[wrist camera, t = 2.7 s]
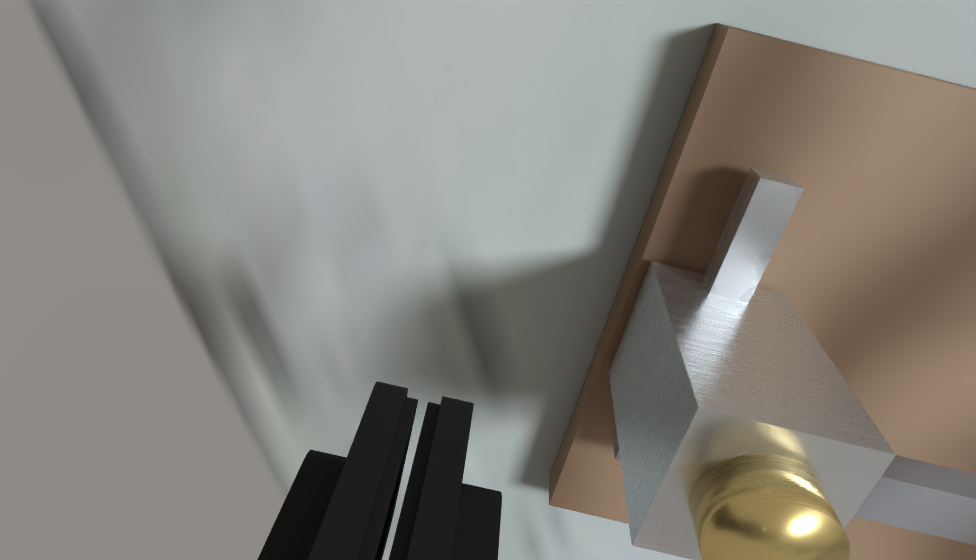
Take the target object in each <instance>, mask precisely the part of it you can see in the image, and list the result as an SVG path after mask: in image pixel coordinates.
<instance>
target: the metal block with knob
mask: <svg viewBox="0 0 976 560" xmlns="http://www.w3.org/2000/svg"><path fill="white" fill-rule="evenodd" d="M803 190H804V188H803V187H802V186H801V185H800V184H799V183H798V182H797V181H796V180H794V179H793V178H792V177H789V176H785V175H781V174H777V173H773V172H769V171H765V170H761V169H757V168H753V167H750V170H749V172H748V174H747V177H746V179H745V181H744V184H743V186H742V188H741V190H740V193H739V195H738V197H737V200H736V202H735V204H734V207H733V209H732V211H731V214H730V216H729V218H728V220H727V223H726V225H725V227H724V230H723V232H722V234H721V237H720V239H719V241H718V244H717V246H716V248H715V250H714V253H713V255H712V257H711V260H710V262H709V264H708V267H707V269H706V271H705V274H702V273H698V272H694V271H690V270H686V269H682V268H678V267H674V266H670V265H666V264H662V263H658V262H653V261H651V264H650V266H649V269H648V271H647V274H646V277H645V279H644V282H643V284H642V287H641V289H640V292H639V295H638V297H637V300H636V302H635V305H634V308H633V310H632V313H631V315H630V318H629V321H628V323H627V326H626V328H625V331H624V334H623V336H622V339H621V341H620V344H619V347H618V349H617V352H616V354H615V357H614V360H613V362H612V365H611V367H610V370H609V377H610V385H611V392H612V400H613V407H614V415H615V422H616V430H617V437H618V445H619V452H620V460H621V467H622V475H623V482H624V490H625V497H626V505H627V512H628V520H629V527H630V535H631V542H632V545H633V546H637V547H641V548H645V549H650V550H654V551H658V552H662V553H667V554H671V555H675V556H679V557H684V558H688V559H692V560H849V556H850V544H849V540H848V537H847V535H846V533H845V531H844V529H845V527H846V526H847V525H848V523H849V522H850V520H851V519H852V517H853V516H854V515H855V513H856V512H857V510H858V509H859V507H860V506H861V505H862V503H863V502H864V500H865V499H866V497H867V496H868V495H869V493H870V492H871V490H872V489H873V487H874V486H875V485H876V483H877V482H878V480H879V479H880V477H881V476H882V475H883V473H884V472H885V470H886V469H887V467H888V466H889V465H890V463H891V462H892V460H893V459H894V457H895V456H896V454H895V452H894V451H893V449H892V448H891V446H890V445H889V444H888V442H887V441H886V439H885V438H884V436H883V435H882V433H881V432H880V430H879V429H878V428H877V426H876V425H875V423H874V422H873V420H872V419H871V417H870V416H869V414H868V413H867V412H866V410H865V409H864V407H863V406H862V404H861V403H860V401H859V400H858V398H857V397H856V396H855V394H854V393H853V391H852V390H851V388H850V387H849V385H848V384H847V382H846V381H845V379H844V378H843V377H842V375H841V374H840V372H839V371H838V369H837V368H836V366H835V365H834V363H833V362H832V361H831V359H830V358H829V356H828V355H827V353H826V352H825V350H824V349H823V347H822V346H821V345H820V343H819V342H818V340H817V339H816V337H815V336H814V334H813V333H812V331H811V330H810V329H809V327H808V326H807V324H806V323H805V321H804V320H803V318H802V317H801V315H800V314H799V313H798V311H797V310H796V308H795V307H794V305H793V304H792V302H791V301H790V299H789V298H788V297H787V295H786V294H784V293H780V292H776V291H772V290H768V289H764V288H760V287H757V285H758V283H759V281H760V279H761V277H762V275H763V272H764V270H765V268H766V266H767V264H768V262H769V260H770V258H771V256H772V254H773V252H774V250H775V248H776V246H777V243H778V241H779V239H780V237H781V235H782V233H783V231H784V229H785V227H786V225H787V223H788V221H789V219H790V216H791V214H792V212H793V210H794V208H795V206H796V204H797V202H798V200H799V198H800V196H801V194H802V192H803Z"/></svg>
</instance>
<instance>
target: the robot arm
mask: <svg viewBox="0 0 976 560" xmlns="http://www.w3.org/2000/svg"><path fill="white" fill-rule="evenodd" d="M407 392H408V388H404V387H399V386H395V385H390V384H386V383H382V382H376V383H375V386H374V388H373V391H372V393H371V396H370V398H369V401H368V404H367V406H366V409H365V412H364V414H363V417H362V419H361V422H360V425H359V427H358V430H357V432H356V435H355V438H354V440H353V443H352V446H351V448H350V451H349V453H348V456H347V458H346V457H342V456H337V455H333V454H328V453H324V452H319V451H315V450H310V451H309V452H308V453H307V455H306V457H305V459H304V461H303V463H302V465H301V467H300V469H299V471H298V474H297V476H296V478H295V480H294V482H293V484H292V486H291V489H290V491H289V493H288V495H287V497H286V499H285V501H284V504H283V506H282V508H281V510H280V512H279V514H278V517H277V519H276V521H275V523H274V525H273V527H272V530H271V532H270V534H269V536H268V538H267V540H266V542H265V545H264V547H263V549H262V551H261V553H260V555H259V558H258V560H382V557H383V553H384V549H385V546H386V542H387V538H388V534H389V530H390V526H391V522H392V518H393V514H394V510H395V505H396V500H397V496H398V491H399V487H400V482H401V477H402V473H403V468H404V464H405V459H406V454H407V450H408V445H409V441H410V436H411V431H412V427H413V422H414V418H415V413H416V408H417V404H418V400H417V399H413V398H408V397H407ZM472 412H473V403H470V402H465V401H461V400H457V399H452V398H448V397H442V401H441V405H439V404H435V403H430V402H428V405H427V409H426V413H425V417H424V421H423V425H422V429H421V433H420V437H419V441H418V445H417V449H416V453H415V457H414V461H413V465H412V469H411V473H410V477H409V481H408V485H407V489H406V493H405V497H404V501H403V505H402V509H401V513H400V517H399V521H398V525H397V529H396V533H395V537H394V541H393V545H392V549H391V553H390V557H389V560H498V547H499V533H500V519H501V505H502V494H501V492H499V491H495V490H490V489H486V488H481V487H477V486H472V485H468V484H463V483H462V479H463V473H464V466H465V459H466V453H467V446H468V439H469V432H470V426H471V419H472Z"/></svg>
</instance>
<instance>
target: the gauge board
mask: <svg viewBox="0 0 976 560" xmlns="http://www.w3.org/2000/svg"><path fill="white" fill-rule="evenodd" d="M750 167H753V168H757V169H761V170H765V171H769V172H773V173H777V174H781V175H785V176H789V177H792V178H793V179H794V180H796V181H797V182H798V183H799V184H800V185H801V186H802V187H803V188H804V190H803V192H802V194H801V196H800V198H799V200H798V202H797V204H796V206H795V208H794V210H793V212H792V214H791V216H790V219H789V221H788V223H787V225H786V227H785V229H784V231H783V233H782V235H781V237H780V239H779V241H778V243H777V246H776V248H775V250H774V252H773V254H772V256H771V258H770V260H769V262H768V264H767V266H766V268H765V270H764V272H763V275H762V277H761V279H760V281H759V283H758V285H757V287H760V288H764V289H768V290H772V291H776V292H780V293H784V294H786V295H787V297H788V298H789V299H790V301H791V302H792V304H793V305H794V307H795V308H796V310H797V311H798V313H799V314H800V315H801V317H802V318H803V320H804V321H805V323H806V324H807V326H808V327H809V329H810V330H811V331H812V333H813V334H814V336H815V337H816V339H817V340H818V342H819V343H820V345H821V346H822V347H823V349H824V350H825V352H826V353H827V355H828V356H829V358H830V359H831V361H832V362H833V363H834V365H835V366H836V368H837V369H838V371H839V372H840V374H841V375H842V377H843V378H844V379H845V381H846V382H847V384H848V385H849V387H850V388H851V390H852V391H853V393H854V394H855V396H856V397H857V398H858V400H859V401H860V403H861V404H862V406H863V407H864V409H865V410H866V412H867V413H868V414H869V416H870V417H871V419H872V420H873V422H874V423H875V425H876V426H877V428H878V429H879V430H880V432H881V433H882V435H883V436H884V438H885V439H886V441H887V442H888V444H889V445H890V446H891V448H892V449H893V451H894V452H895V454H896V456H895V457H894V459H893V460H892V462H891V463H890V465H889V466H888V467H887V469H886V470H885V472H884V473H883V475H882V476H881V477H880V479H879V480H878V482H877V483H876V485H875V486H874V487H873V489H872V490H871V492H870V493H869V495H868V496H867V497H866V499H865V500H864V502H863V503H862V505H861V506H860V507H859V509H858V510H857V512H856V513H855V515H854V516H853V517H852V519H851V520H850V522H849V523H848V525H847V526H846V527H845V529H844V531H845V533H846V535H847V537H848V540H849V544H850V556H849V560H976V89H975V88H971V87H967V86H963V85H960V84H956V83H952V82H948V81H944V80H940V79H936V78H932V77H928V76H924V75H920V74H916V73H912V72H908V71H904V70H900V69H896V68H892V67H889V66H885V65H881V64H877V63H873V62H869V61H865V60H861V59H857V58H853V57H849V56H845V55H841V54H837V53H833V52H829V51H825V50H821V49H818V48H814V47H810V46H806V45H802V44H798V43H794V42H790V41H786V40H782V39H778V38H774V37H770V36H766V35H762V34H758V33H754V32H750V31H746V30H743V29H739V28H735V27H731V26H727V25H723V24H719V23H716V26H715V28H714V31H713V34H712V36H711V39H710V42H709V45H708V47H707V50H706V53H705V55H704V58H703V61H702V64H701V66H700V69H699V72H698V75H697V77H696V80H695V83H694V85H693V88H692V91H691V94H690V96H689V99H688V102H687V105H686V107H685V110H684V113H683V115H682V118H681V121H680V124H679V126H678V129H677V132H676V135H675V137H674V140H673V143H672V145H671V148H670V151H669V154H668V156H667V159H666V162H665V165H664V167H663V170H662V173H661V175H660V178H659V181H658V184H657V186H656V189H655V192H654V195H653V197H652V200H651V203H650V205H649V208H648V211H647V214H646V216H645V219H644V222H643V224H642V227H641V230H640V233H639V235H638V238H637V241H636V244H635V246H634V249H633V252H632V254H631V257H630V260H629V263H628V265H627V268H626V271H625V274H624V276H623V279H622V282H621V284H620V287H619V290H618V293H617V295H616V298H615V301H614V304H613V306H612V309H611V312H610V314H609V317H608V320H607V323H606V325H605V328H604V331H603V334H602V336H601V339H600V342H599V344H598V347H597V350H596V353H595V355H594V358H593V361H592V363H591V366H590V369H589V372H588V374H587V377H586V380H585V383H584V385H583V388H582V391H581V393H580V396H579V399H578V402H577V404H576V407H575V410H574V413H573V415H572V418H571V421H570V423H569V426H568V429H567V432H566V434H565V437H564V440H563V443H562V445H561V448H560V451H559V453H558V456H557V459H556V462H555V464H554V467H553V470H552V473H551V475H550V478H549V505H551V506H556V507H560V508H564V509H568V510H573V511H577V512H581V513H585V514H590V515H594V516H598V517H602V518H607V519H611V520H615V521H619V522H624V523H628V524H629V520H628V512H627V505H626V497H625V490H624V482H623V475H622V467H621V460H620V452H619V445H618V437H617V430H616V422H615V415H614V407H613V400H612V392H611V385H610V377H609V370H610V367H611V365H612V362H613V360H614V357H615V354H616V352H617V349H618V347H619V344H620V341H621V339H622V336H623V334H624V331H625V328H626V326H627V323H628V321H629V318H630V315H631V313H632V310H633V308H634V305H635V302H636V300H637V297H638V295H639V292H640V289H641V287H642V284H643V282H644V279H645V277H646V274H647V271H648V269H649V266H650V264H651V261H653V262H658V263H662V264H666V265H670V266H674V267H678V268H682V269H686V270H690V271H694V272H698V273H702V274H705V271H706V269H707V267H708V264H709V262H710V260H711V257H712V255H713V253H714V250H715V248H716V246H717V244H718V241H719V239H720V237H721V234H722V232H723V230H724V227H725V225H726V223H727V220H728V218H729V216H730V214H731V211H732V209H733V207H734V204H735V202H736V200H737V197H738V195H739V193H740V190H741V188H742V186H743V184H744V181H745V179H746V177H747V174H748V172H749V170H750Z"/></svg>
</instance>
